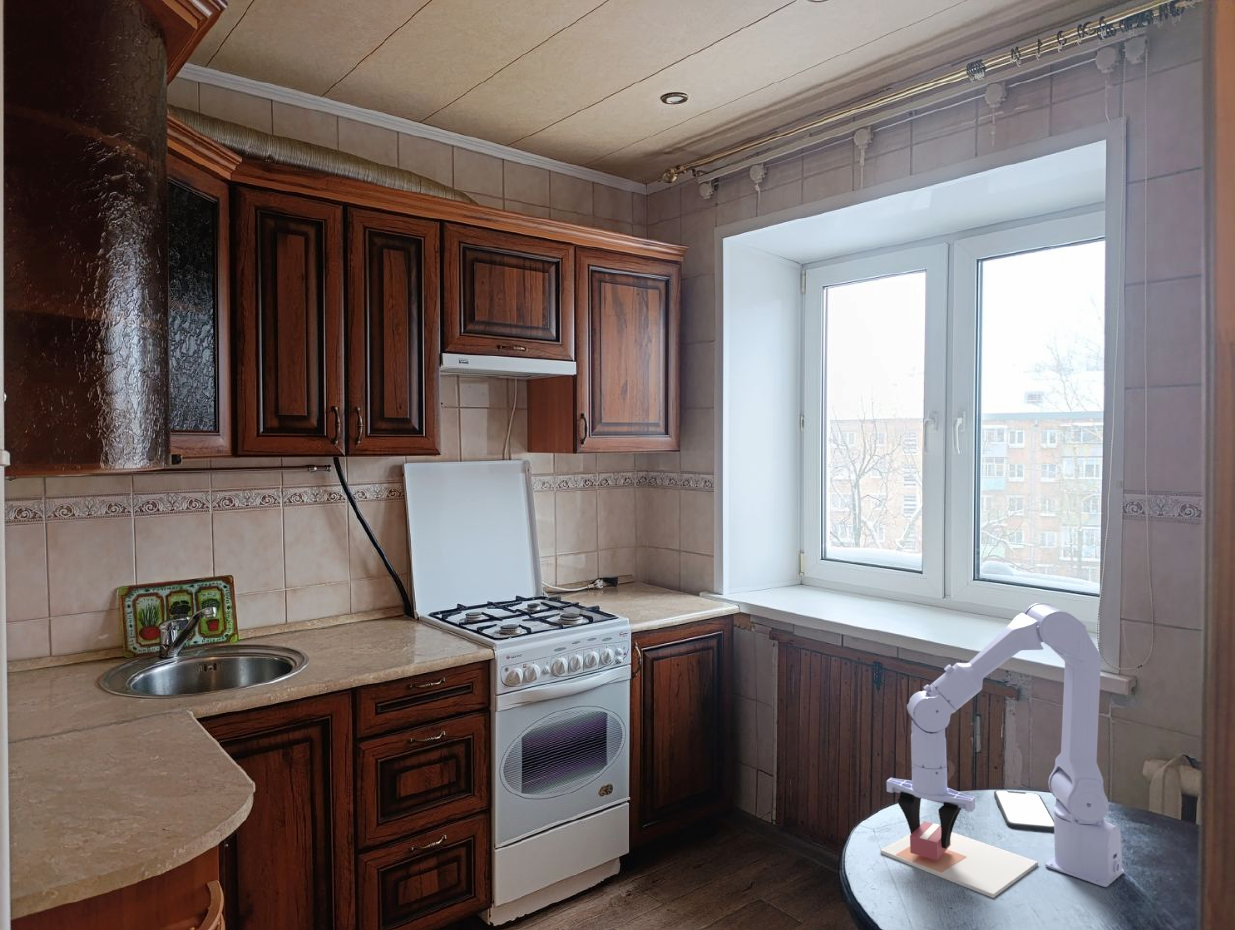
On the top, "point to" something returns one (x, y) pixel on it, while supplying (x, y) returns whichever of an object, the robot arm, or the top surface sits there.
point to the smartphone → (1024, 811)
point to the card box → (927, 841)
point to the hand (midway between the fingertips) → (930, 841)
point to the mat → (968, 864)
